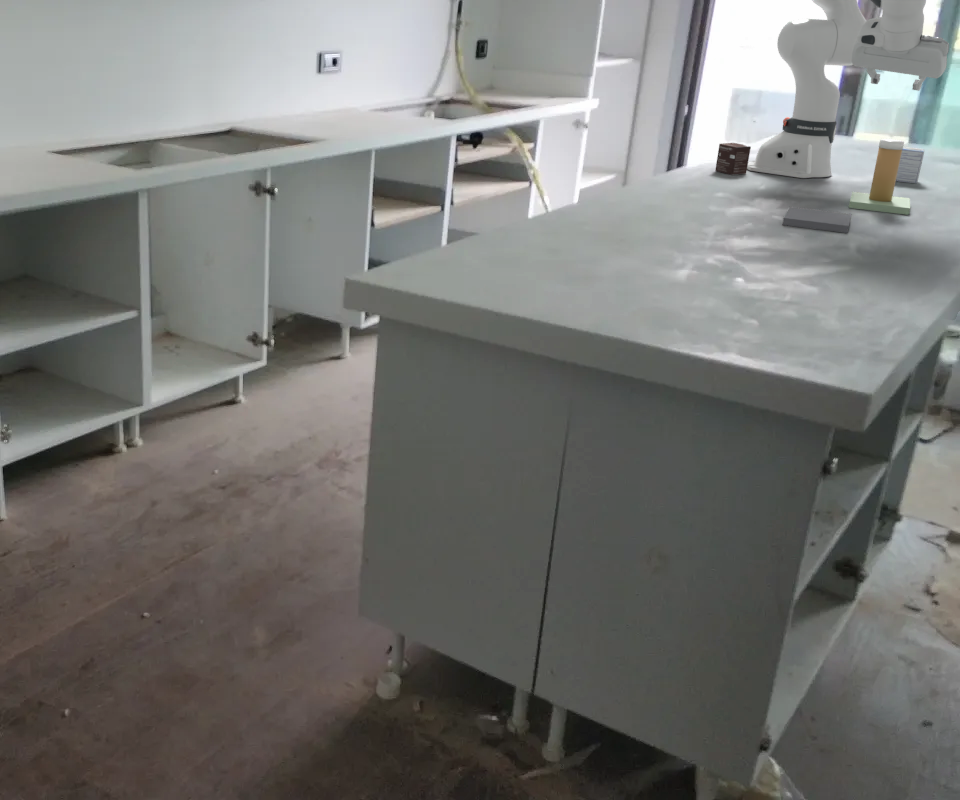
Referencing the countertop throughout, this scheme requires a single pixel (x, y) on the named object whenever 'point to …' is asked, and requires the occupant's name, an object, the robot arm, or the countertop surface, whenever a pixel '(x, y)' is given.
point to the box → (732, 158)
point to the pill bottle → (886, 170)
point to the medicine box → (910, 165)
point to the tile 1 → (817, 219)
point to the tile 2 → (880, 204)
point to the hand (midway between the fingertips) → (895, 85)
